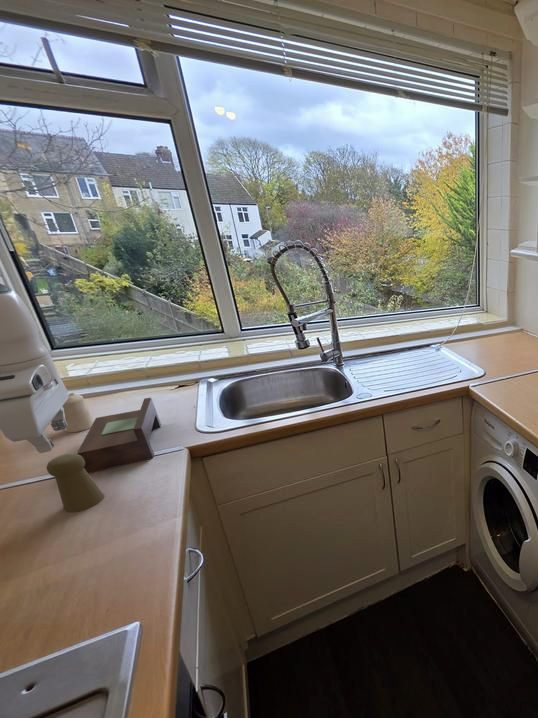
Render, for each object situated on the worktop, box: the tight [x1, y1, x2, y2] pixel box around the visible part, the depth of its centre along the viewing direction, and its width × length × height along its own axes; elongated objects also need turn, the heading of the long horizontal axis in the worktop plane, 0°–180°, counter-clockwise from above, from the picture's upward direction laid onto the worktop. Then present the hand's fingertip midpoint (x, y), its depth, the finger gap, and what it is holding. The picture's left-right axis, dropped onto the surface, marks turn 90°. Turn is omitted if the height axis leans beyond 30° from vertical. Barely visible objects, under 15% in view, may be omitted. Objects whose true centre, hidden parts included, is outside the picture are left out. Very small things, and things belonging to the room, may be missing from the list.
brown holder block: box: [76, 397, 162, 474], centre depth 102 cm, size 12×20×8 cm, turn 34°
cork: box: [46, 453, 105, 513], centre depth 82 cm, size 6×6×11 cm
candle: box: [62, 392, 95, 433], centre depth 110 cm, size 6×6×10 cm
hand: (54, 439), depth 79 cm, fingers open, 8 cm apart
